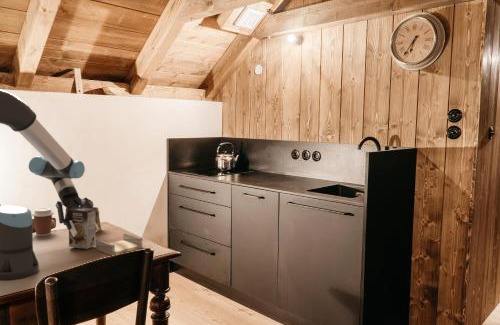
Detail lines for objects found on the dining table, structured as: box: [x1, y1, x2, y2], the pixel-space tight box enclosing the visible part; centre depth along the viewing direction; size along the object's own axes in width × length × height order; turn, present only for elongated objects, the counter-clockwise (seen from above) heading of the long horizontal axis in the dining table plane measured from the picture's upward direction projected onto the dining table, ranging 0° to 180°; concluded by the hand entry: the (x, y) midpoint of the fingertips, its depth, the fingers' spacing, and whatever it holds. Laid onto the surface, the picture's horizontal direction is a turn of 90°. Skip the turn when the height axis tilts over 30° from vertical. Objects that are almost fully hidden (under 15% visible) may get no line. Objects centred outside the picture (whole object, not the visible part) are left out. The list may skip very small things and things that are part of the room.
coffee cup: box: [31, 207, 54, 237], centre depth 201 cm, size 9×9×12 cm
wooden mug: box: [81, 198, 102, 233], centre depth 207 cm, size 9×14×18 cm, turn 1°
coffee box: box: [68, 206, 96, 250], centre depth 181 cm, size 9×6×16 cm
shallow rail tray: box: [95, 232, 143, 256], centre depth 182 cm, size 15×12×4 cm
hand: (86, 232), depth 180 cm, fingers closed on coffee box, 9 cm apart
